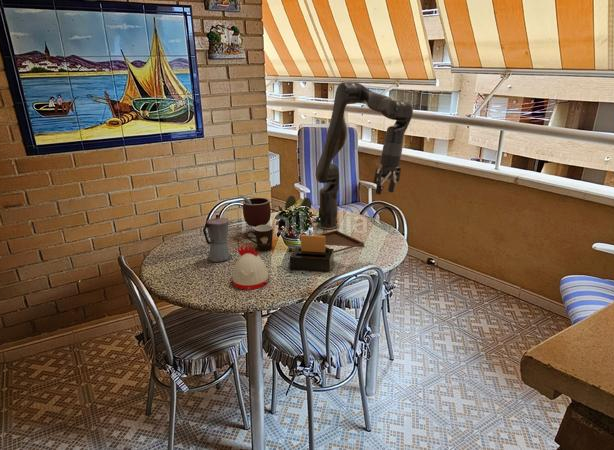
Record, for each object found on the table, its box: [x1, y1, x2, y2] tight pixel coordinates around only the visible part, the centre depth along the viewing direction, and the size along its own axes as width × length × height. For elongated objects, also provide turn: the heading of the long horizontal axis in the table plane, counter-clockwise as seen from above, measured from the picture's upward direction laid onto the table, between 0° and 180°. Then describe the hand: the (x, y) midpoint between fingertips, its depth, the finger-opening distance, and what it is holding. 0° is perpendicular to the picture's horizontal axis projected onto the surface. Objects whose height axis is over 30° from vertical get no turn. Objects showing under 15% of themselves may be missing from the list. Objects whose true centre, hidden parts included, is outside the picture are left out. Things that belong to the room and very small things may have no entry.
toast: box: [300, 234, 326, 252], centre depth 167 cm, size 10×1×12 cm, turn 78°
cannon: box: [284, 195, 312, 210], centre depth 226 cm, size 25×12×11 cm, turn 152°
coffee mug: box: [245, 224, 274, 252], centre depth 188 cm, size 12×9×10 cm
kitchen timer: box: [231, 244, 270, 290], centre depth 156 cm, size 14×14×15 cm
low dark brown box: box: [289, 246, 335, 273], centre depth 166 cm, size 17×11×7 cm, turn 78°
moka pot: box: [202, 214, 230, 263], centre depth 175 cm, size 10×15×20 cm, turn 155°
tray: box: [318, 230, 365, 254], centre depth 191 cm, size 21×17×2 cm
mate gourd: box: [239, 194, 272, 239], centre depth 205 cm, size 16×14×20 cm
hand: (384, 193), depth 167 cm, fingers open, 8 cm apart
